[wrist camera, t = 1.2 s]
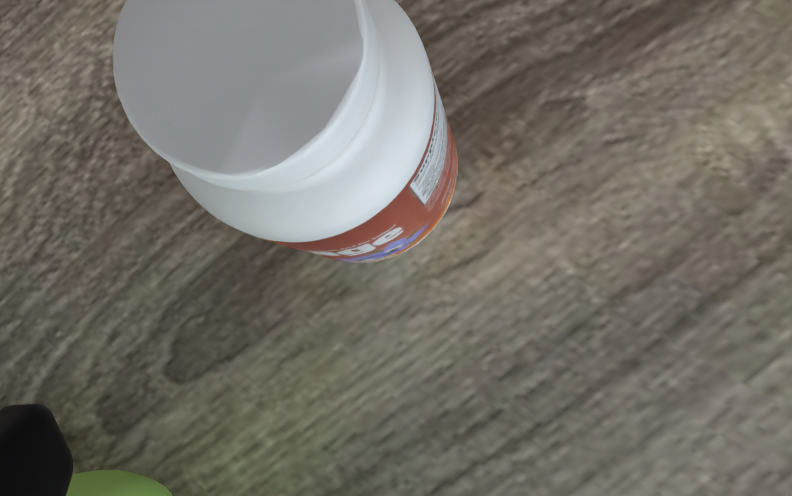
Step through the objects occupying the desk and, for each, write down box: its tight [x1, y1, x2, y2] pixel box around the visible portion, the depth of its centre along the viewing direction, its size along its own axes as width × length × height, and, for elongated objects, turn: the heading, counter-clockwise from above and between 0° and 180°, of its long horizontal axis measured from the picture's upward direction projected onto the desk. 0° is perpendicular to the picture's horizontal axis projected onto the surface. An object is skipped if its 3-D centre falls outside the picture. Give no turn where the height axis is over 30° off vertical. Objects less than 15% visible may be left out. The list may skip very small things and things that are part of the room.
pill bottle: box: [113, 0, 458, 263], centre depth 18 cm, size 6×6×11 cm
